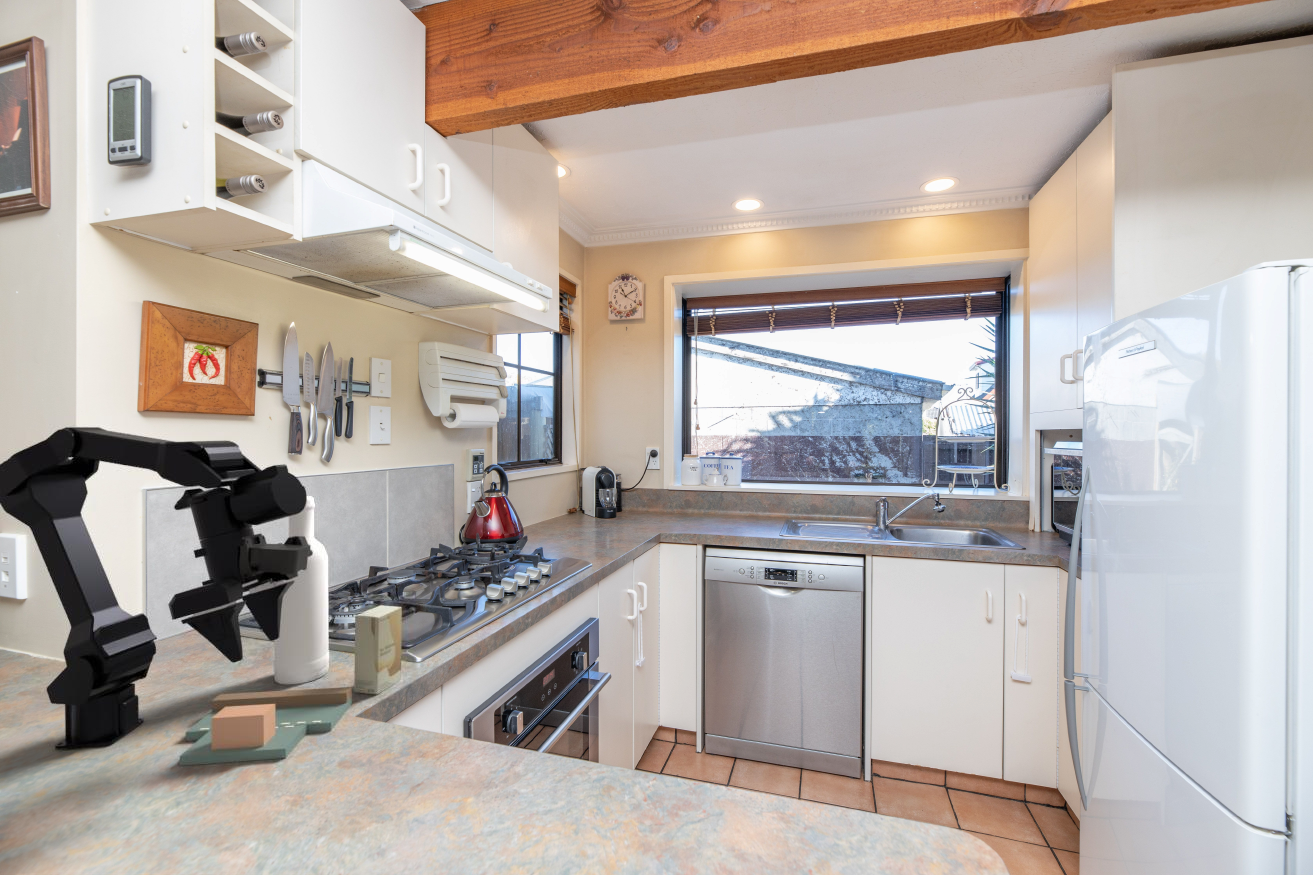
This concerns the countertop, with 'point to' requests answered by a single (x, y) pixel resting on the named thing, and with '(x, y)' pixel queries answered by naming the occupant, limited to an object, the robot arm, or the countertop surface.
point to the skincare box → (377, 649)
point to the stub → (244, 737)
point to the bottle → (304, 612)
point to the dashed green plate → (286, 708)
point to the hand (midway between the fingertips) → (257, 649)
